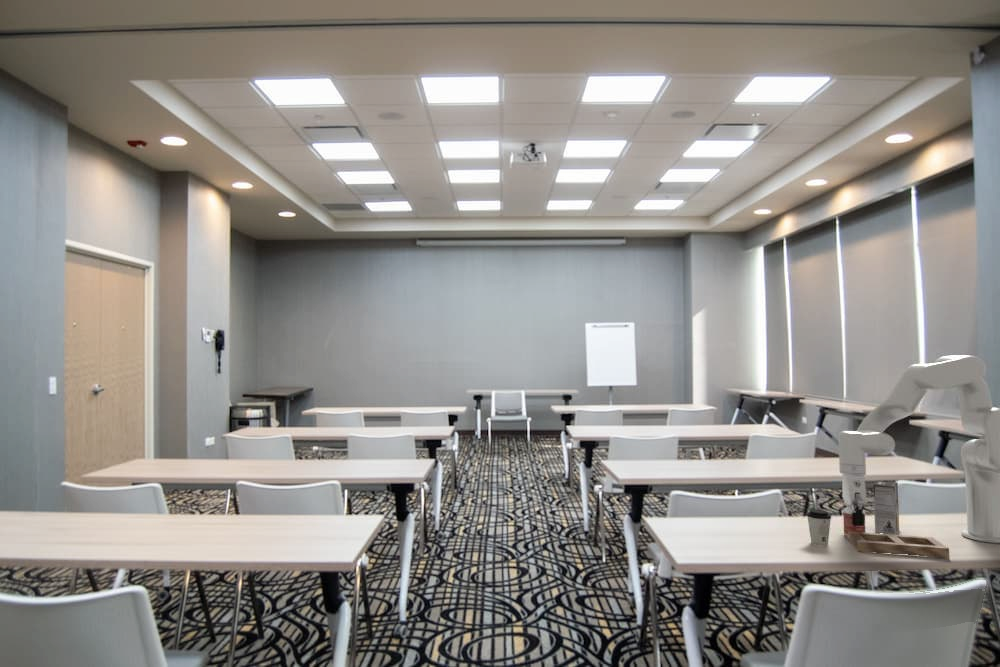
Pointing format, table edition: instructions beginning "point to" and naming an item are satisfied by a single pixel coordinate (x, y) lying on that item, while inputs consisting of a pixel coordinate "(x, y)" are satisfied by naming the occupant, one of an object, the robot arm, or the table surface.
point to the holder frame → (898, 544)
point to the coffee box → (886, 507)
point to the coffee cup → (819, 526)
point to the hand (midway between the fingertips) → (853, 521)
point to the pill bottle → (848, 521)
